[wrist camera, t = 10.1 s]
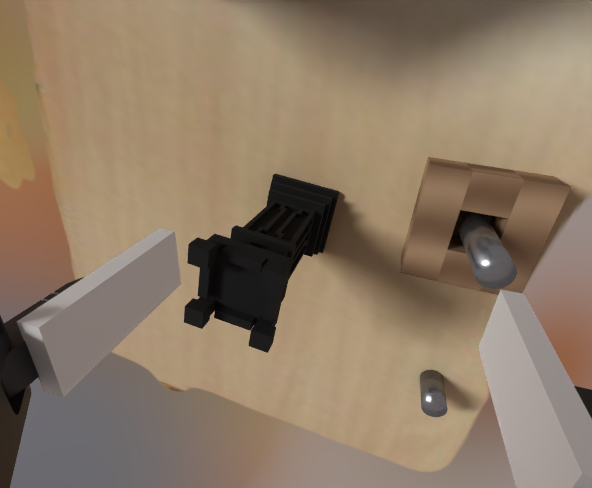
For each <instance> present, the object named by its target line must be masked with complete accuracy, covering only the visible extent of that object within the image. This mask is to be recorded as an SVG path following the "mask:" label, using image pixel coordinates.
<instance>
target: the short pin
mask: <svg viewBox="0 0 592 488" xmlns="http://www.w3.org/2000/svg"><path fill="white" fill-rule="evenodd" d="M420 390H421V407H422V410H423V412H424V413H425V414H427V415H429V416H432V417H440V416H443V415H445V414H446V412H447V403H446V396H445V388H444V381H443V376H442V375H441V374H440V373H439V372H437V371H435V370H426V371H424V372H422V373H421V375H420Z"/></svg>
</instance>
